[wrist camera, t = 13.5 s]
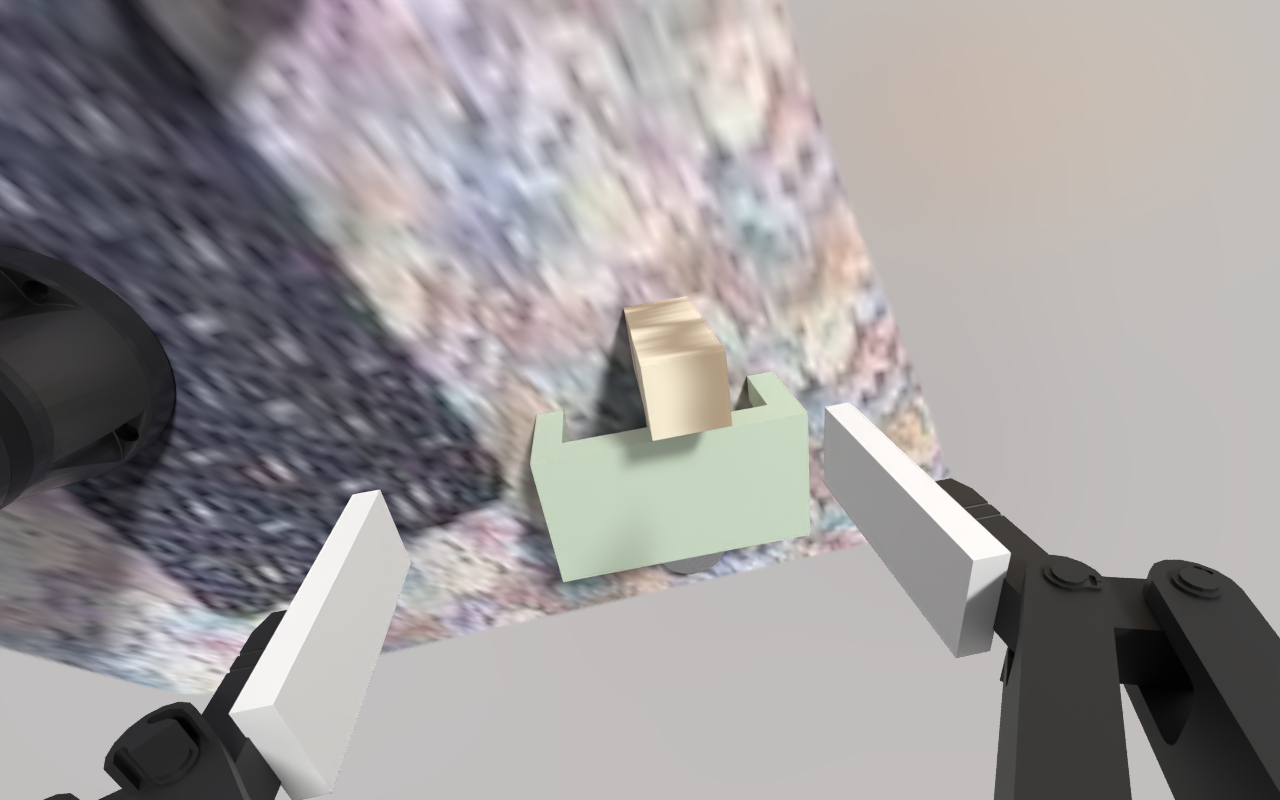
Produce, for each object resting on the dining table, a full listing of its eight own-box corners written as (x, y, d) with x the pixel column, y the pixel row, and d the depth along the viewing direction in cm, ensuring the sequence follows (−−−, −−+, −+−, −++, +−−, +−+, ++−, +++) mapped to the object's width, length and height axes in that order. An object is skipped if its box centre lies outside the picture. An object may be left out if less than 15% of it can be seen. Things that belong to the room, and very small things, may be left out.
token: (659, 567, 49) (661, 579, 48) (649, 513, 47) (652, 524, 45) (725, 554, 50) (729, 566, 48) (719, 500, 47) (723, 511, 46)
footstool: (564, 520, 46) (563, 582, 39) (536, 414, 41) (529, 464, 35) (778, 480, 46) (810, 534, 40) (772, 371, 42) (807, 412, 36)
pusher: (658, 514, 46) (681, 615, 37) (623, 307, 39) (640, 366, 29) (711, 504, 47) (748, 602, 37) (687, 296, 39) (725, 351, 29)
